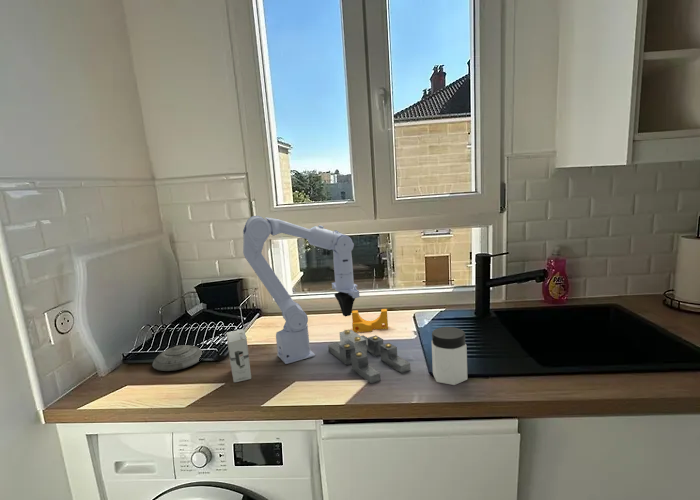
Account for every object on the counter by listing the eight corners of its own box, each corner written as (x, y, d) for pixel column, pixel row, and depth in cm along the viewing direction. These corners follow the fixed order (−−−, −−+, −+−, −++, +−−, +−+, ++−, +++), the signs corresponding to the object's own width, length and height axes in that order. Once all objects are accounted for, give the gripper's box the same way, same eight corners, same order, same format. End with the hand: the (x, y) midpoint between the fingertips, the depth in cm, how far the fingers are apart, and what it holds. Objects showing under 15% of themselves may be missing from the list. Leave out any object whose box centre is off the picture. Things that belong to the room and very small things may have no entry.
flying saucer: (207, 350, 137) (205, 334, 136) (202, 370, 122) (199, 352, 121) (159, 357, 134) (156, 341, 133) (147, 378, 119) (144, 360, 118)
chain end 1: (346, 365, 118) (345, 348, 117) (328, 351, 128) (327, 336, 127) (384, 353, 123) (383, 338, 123) (363, 341, 134) (362, 326, 133)
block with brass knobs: (354, 358, 122) (353, 341, 121) (340, 347, 131) (339, 330, 130) (367, 355, 123) (365, 337, 123) (352, 344, 132) (350, 328, 131)
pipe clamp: (352, 332, 142) (351, 314, 141) (353, 328, 146) (352, 310, 145) (388, 331, 141) (387, 313, 140) (387, 326, 145) (386, 308, 144)
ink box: (230, 370, 120) (225, 331, 118) (247, 366, 122) (243, 328, 120) (233, 383, 112) (228, 342, 110) (252, 379, 114) (247, 338, 112)
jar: (427, 381, 106) (425, 336, 103) (437, 367, 112) (436, 325, 110) (463, 387, 101) (461, 341, 99) (471, 373, 108) (470, 329, 106)
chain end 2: (370, 383, 106) (369, 365, 105) (351, 369, 115) (350, 352, 114) (410, 370, 112) (409, 352, 111) (389, 357, 121) (388, 341, 120)
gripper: (367, 274, 123) (370, 318, 125) (344, 266, 135) (347, 306, 138) (345, 278, 120) (349, 323, 122) (324, 270, 132) (328, 311, 135)
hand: (347, 315), depth 130 cm, fingers closed
